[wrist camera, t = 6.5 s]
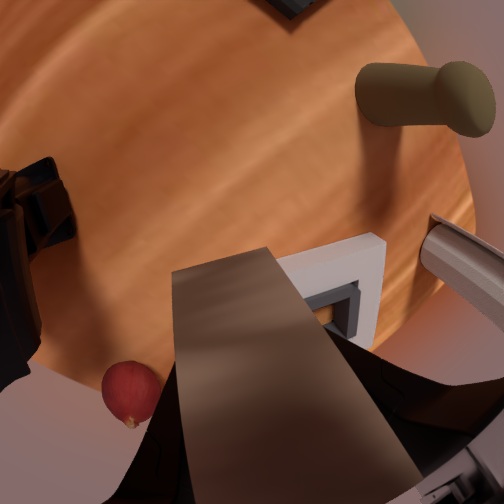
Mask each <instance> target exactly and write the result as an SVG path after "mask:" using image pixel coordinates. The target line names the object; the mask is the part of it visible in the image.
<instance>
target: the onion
mask: <svg viewBox="0 0 504 504" xmlns="http://www.w3.org/2000/svg"><path fill="white" fill-rule="evenodd" d="M160 396H161V387H160V383H159V381H158V380H157V378H156V376H155V375H154V373H153V372H152V371H151V370H149V369H148V368H147V367H145V366H144V365H142V364H139V363H137V362H135V361H125V362H119V363H117V364H115V365H113V366H111V367H110V368H109V369H108V370H107V371H106V373H105V375H104V377H103V380H102V397H103V400H104V403H105V404H106V406H107V408H108V409H109V410H110V411H111V413H112V414H113V415H114V416H115V417H116V418H117V419H119V420H121V421H122V422H124V424H125V425H126V426H127V427H129V428H133V429H134V428H136V427H137V426H139V423H140V422H144V421H146V420H147V419H149V418H150V417H151V416H152V415H153V413H154V410H155V408H156V405H157V403H158V401H159V398H160Z"/></svg>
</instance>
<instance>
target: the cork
mask: <svg viewBox="0 0 504 504" xmlns="http://www.w3.org/2000/svg"><path fill="white" fill-rule="evenodd" d="M355 95H356V99H357V102H358V105H359V108H360V109H361V111H362V112H363V114H364V116H365V117H366V118H367V119H369V120H370V121H371V122H372V123H374V124H376V125H378V126H408V125H447V126H448V127H449V128H450V129H452V130H453V131H454V132H456V133H458V134H460V135H463V136H467V137H472V138H476V137H481V136H483V135H484V134H486V133H488V132H489V131H490V130H491V128H492V125H493V123H494V120H495V113H496V102H495V97H494V92H493V89H492V86H491V84H490V82H489V80H488V78H487V76H486V75H485V74H484V73H483V72H482V70H480V69H479V68H477V67H476V66H474V65H472V64H470V63H467V62H464V61H462V62H461V61H459V62H450V63H447V64H445V65H444V66H442V67H441V68H433V67H426V66H417V65H407V64H394V63H371V64H367V65H366V66H365V67H363V68H362V69H361V70H360V72H359V74H358V75H357V78H356V83H355Z"/></svg>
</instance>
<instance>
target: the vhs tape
mask: <svg viewBox="0 0 504 504" xmlns="http://www.w3.org/2000/svg"><path fill="white" fill-rule="evenodd" d="M266 1H267V2H268V3H270V4H271V5H272V6H273V7H275V8H276V9H277V10H278V11H280V12H281V13H282V14H283V15H284V16H286V17H287V18H288V19H289V20H291V19H293V18H294V17H295V16H297V15H298V14H299V13H300V12H302V11H303V10H304V9H306V8H307V7H308V6H309V5H310V4H312V3H313V2H315V1H316V0H266Z"/></svg>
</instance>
